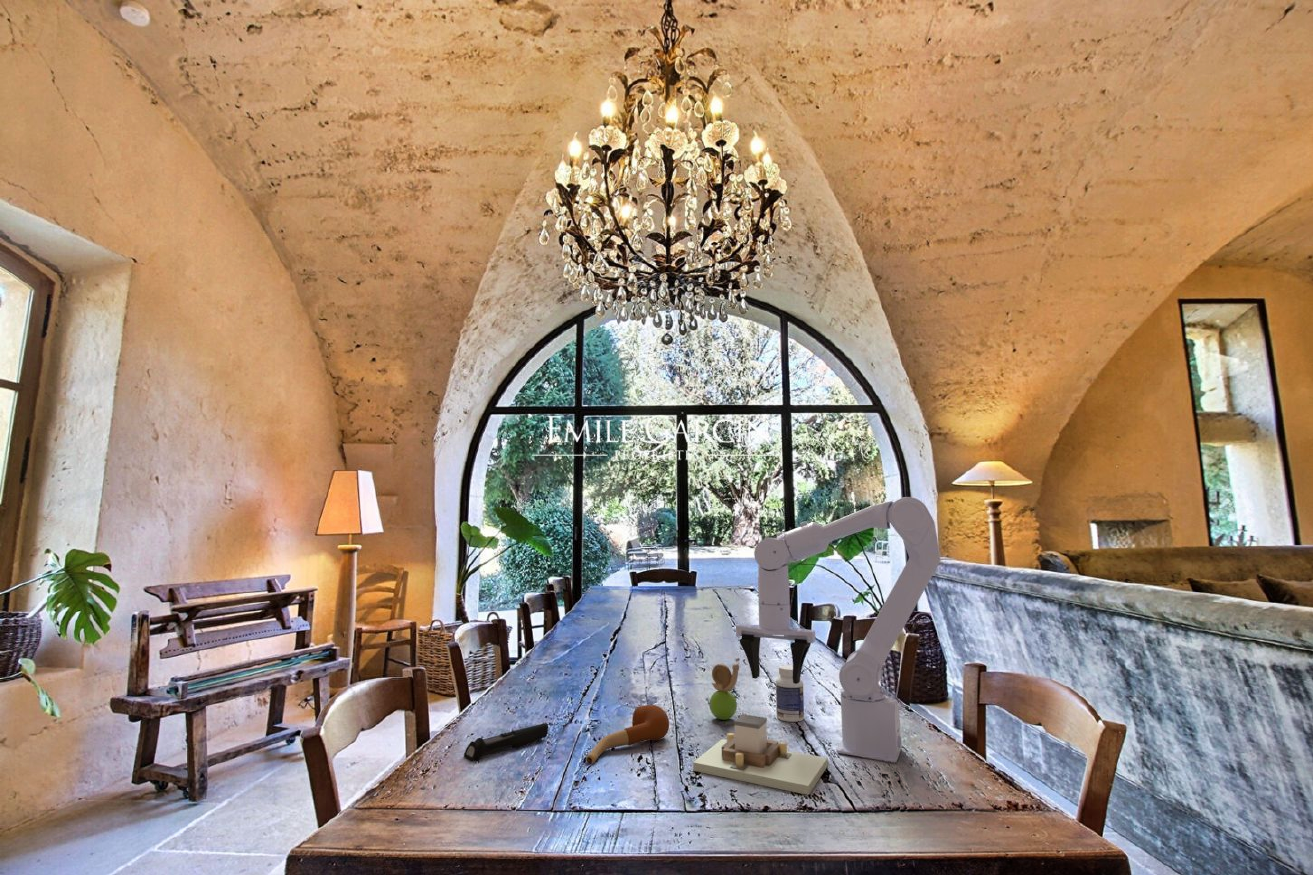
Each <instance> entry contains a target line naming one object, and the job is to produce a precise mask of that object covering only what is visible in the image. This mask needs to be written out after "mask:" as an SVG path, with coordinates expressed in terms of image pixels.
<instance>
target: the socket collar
mask: <svg viewBox="0 0 1313 875" xmlns="http://www.w3.org/2000/svg"><path fill="white" fill-rule="evenodd" d="M736 753H742V754H743V761H744V764H747V765H750V766H755V767H760V768H764V767H765V766H770V765H771V764H772V763H773V762H774V761H775V760H776V759H777V757H778V756H779V741H776V740H772V739H771V740H770V739H767V750H766V751H765V752H764V753H763V754H757V753H752V752H746V751H741V750H736V749H735V736H734V737H733V738H732V739H730V740H729V741H728V742H727V743H726V744H724V745H723V746H722V760H725V761H730V762H736Z"/></svg>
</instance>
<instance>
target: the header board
mask: <svg viewBox="0 0 1313 875" xmlns="http://www.w3.org/2000/svg"><path fill="white" fill-rule="evenodd" d="M733 737H735V733H731V732H729V733H726V738H725V739H724V738H722V739H720V740H719V741H718V742H717V743H715V744H714V745H713V746H712V747H710V748H709V749H708V750H707V751H705V752H704V753H702V754H701V755H700V756H699V757H698V758H697V759H695V760H694V761H693V762H692V771H694V772H698V773H703V774H708V775H712V776H718V777H723V778H727V779H731V780H736V781H741V782H746V783H749V784H755V785H760V786H765V787H769V788H770V787H771V788H774V789H780V790H784V791H787V792H793V793H798V794H803V795H807V796H808V795H810V794H811V792H812V791H813V789H814V787H815V786H816V785H817V782H818V781H819V780H820V779H821V776H823V774H824V773H825V770H827V767H828V765H829V764H828V762H829V761H828V757H824V756H818V755H814V754H808V753H803V752H797V751H792V750H791V751H790V750H788V744H787V743H786V742H784V741H783V742H778V744H779V756H778V757H777V759H776V760H775V761H774V762H773V763H772V764H771V765H770V766H765V767H764V768H760V767H755V766H750V765H747V764H744V761H743V754H742V753H736V762H730V761H725V760H722V746H723V745H724V744H726V743H727V742H728V741H729V740H730V739H732V738H733Z"/></svg>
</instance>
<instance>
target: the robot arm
mask: <svg viewBox="0 0 1313 875" xmlns="http://www.w3.org/2000/svg"><path fill="white" fill-rule="evenodd" d="M799 525H800V526H798V527H796V528H793V529H791V530H788V531H785V532H783V531H779V532H776V533H775V534H776V538H775V537H765V538H764V539H762V540H761V541H759V542H758V543H757V544H756V546H755V548H754V551H753V555H754V560H755V561H756V563H757V564H758V565H757V568H758V570H757V572H758V575H757V576H758V577H757V586H758V589H757V590H758V591H757V592H758V593H757V594H758V624H744V623H742V624H741V623H738V624H736V625H735V635H736V637H740V639H739V644H740V646H741V648H742V650H743V651H744V654H745V657H746V659H747V661H748V664H749V665H748V666H749V669H750V672H751V678H752V679H758V678H759V677H760V672H761V671H760V669H761V668H760V647H761V646H760V644H761V638H763V639H772V640H773V639H775V640H785V641H793V642H791V643H790V650H791V660H792V666H793V683H794V684H798V683H799V682H800V679H801V677H802V670H803V666H804V662H805V660H806V659H805V658H806V656H807V654H808V652H809V649H810V647H811V645H812V644H813V643H816V630H815V629H805V628H799V627H792V626H791V604H790V603H791V602H790V597H791V596H790V579H789V578H790V577H789V564H790V563H797V562H800V561H802V560H805V559H808V558H810V557H814V556H816V555H819V554H821V553H824V552H826V551H827V550H828V546H829V544H830V543H831V542H832V541H833V542H834V541H836V540H839V539H841V538H844V537H847V536H851V535H853V534H857V533H859V532H862V531H866V530H868V529H871V528H876V529H885V530H890V529H891V527H892V528H893V529H894V531H896V533H897V534H898V535H899V536H900V538H901V539H902V540H903V544H904V548H905V550H906V552H907V555H908V560H907V561H906V564H905V566H903V569H902V570H901V573H900V574H899V576H898V577H897V580H896V581H895V584H894V585H893V587H892V589H891V591H889V594H888V596H887V598H886V599H885V601H884V603H883V605H882V607H881V609H880V610H879V613H878V614H877V616H876V618H875V620H874V621H873V623H872V624H871V627H870V629H869V630H868V632H867V634H866V636H865V638H864V639H863V641H862V642H861V644H860V646H859V647H858V649H857V650H855V651H852V653H850V654H849V655H848V657H847V659H846V661H845V663H843V665H842V666H841V668H840V670H839V674H838V679H839V683H840V686H841V687H842V688H840V709H841V711H840V713H841V735H842V736H841V737H842V739H841V740H842V741H841V742H840V743H839V745H838V746H837V748H836V750H835V751H836V753H838V754H843V755H850V756H855V757H861V758H867V759H872V760H878V761H882V760H884V762H888V761H891V763H897V761H898V759H899V756H900V754H901V751H902V749H901V748H903V747H902V735H901V718H900V717H901V716H900V706H899V701H898V700H897V699H894V698H888V697H887V696H885V692H884V690H883V689H882V688H881V687H880V685H879V684H880V683H879V682H880V681H881V679H882V677H883V667H884V665H885V662H886V661H887V658H888V657H889V654H890V652H891V651H892V649H893V647H894V645H895V643H897V640H898V639H899V636H900V635H901V633H902V631H903V630H904V628H905V626H906V624H907V622H908V620H909V619H910V617H911V615H912V613H913V611H915V608H916V606H917V604H918V602H919V600H920V599H921V597H922V595H923V593H924V592H925V590H926V588H927V586H928V585H929V582H930V581H931V580H932V577H933V575H934V574H935V572H936V570H937V568H938V566H939V564H940V562H941V554H940V548H939V540H938V535H937V531H936V530H937V529H936V524H935V519H934V518H933V516H932V514H931V513H930V510H929V509H928V507H927V506H926V505H925V503H923V501H922V500H920V499H918V498H916V497H911V496H906V497H905V496H904V497H901V498H899V499H896V500H895V501H894V502H893V500H891V501H885V502H882V503H881V502H880V503H877V504H874V505H870V506H868V507H865V508H863V509H861V510H858V511H855V512H853V513H850V514H849V515H845V516H843V517H841V518H839V519H836V520H833V521H832V522H829V523H827V524H824V525H822V524H819V523H817V522H815V521H811V522H808V521H806V520H805V521H802V522H799ZM899 753H900V754H899Z"/></svg>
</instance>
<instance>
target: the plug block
mask: <svg viewBox="0 0 1313 875" xmlns="http://www.w3.org/2000/svg"><path fill="white" fill-rule="evenodd" d="M767 721H768V720H767V717H766V716H765V717H764V716H757V715H752V714H750V715H749V714H744V713H742V714H741V715H740V716H738V717H737V718H736V719H734V721H733V725H734V737H735V749H736V750H741V751H746V752H752V753H757V754H763V753H764V752H765V751H766V750H767V740H768V739H767V738H768V737H767V736H768V735H767V733H768V730H767V728H768V726H767Z"/></svg>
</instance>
